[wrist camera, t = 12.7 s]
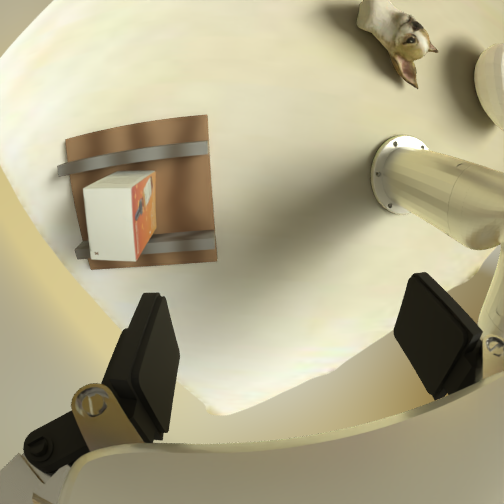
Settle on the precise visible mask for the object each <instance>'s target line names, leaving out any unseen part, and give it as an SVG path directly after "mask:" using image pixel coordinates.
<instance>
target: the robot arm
mask: <svg viewBox="0 0 504 504" xmlns="http://www.w3.org/2000/svg"><path fill="white" fill-rule="evenodd" d="M371 185H372V189H373V192H374V195H375V197H376V199H377V200H378V202H379V203H380V204H381V205H382V206H383V207H384V208H385V209H387V210H388V211H390V212H392V213H395V214H399V215H403V214H409V213H413V214H415V215H416V216H418V217H420V218H421V219H423V220H425V221H426V222H428V223H430V224H431V225H433V226H434V227H436V228H438V229H439V230H441V231H442V232H444V233H445V234H447V235H448V236H450V237H452V238H453V239H455V240H456V241H458V242H459V243H461V244H462V245H464V246H466V247H467V248H470V249H473V250H486V249H490V248H493V247H496V246H498V245H500V244H501V252H500V256H499V260H498V265H497V268H496V271H495V274H494V277H493V280H492V282H491V285H490V288H489V291H488V293H487V296H486V299H485V301H484V304H483V306H482V309H481V312H480V315H479V319H478V325H477V324H476V323H475V322H474V321H473V320H472V318H470V316H469V315H468V314H467V313H466V312H465V311H464V310H463V309H462V308H461V307H460V305H459V304H458V303H457V302H456V301H455V300H454V299H453V298H452V297H451V296H450V295H449V294H448V293H447V292H446V291H445V290H444V289H443V288H442V287H441V286H440V285H439V284H438V283H437V282H436V281H435V280H434V279H433V278H432V277H431V276H430V275H429V274H428V273H426V272H422V273H414V274H413V275H412V276H411V278H409V280H408V283H407V287H406V291H405V294H404V298H403V301H402V305H401V308H400V311H399V315H398V318H397V321H396V324H395V327H394V336H395V338H396V340H397V341H398V343H399V344H400V346H401V348H402V349H403V351H404V353H405V354H406V356H407V357H408V359H409V360H410V362H411V364H412V366H413V367H414V369H415V370H416V373H417V374H418V376H419V378H420V379H421V381H422V383H423V385H424V386H425V388H426V390H427V392H428V393H429V394H431V395H432V396H433V398H434V400H437V399H439V400H437V401H434V402H431V403H429V404H426V405H423V406H421V407H418V408H415V409H412V410H409V411H406V412H403V413H400V414H397V415H394V416H391V417H387V418H384V419H381V420H377V421H374V422H370V423H366V424H362V425H358V426H354V427H350V428H345V429H341V430H336V431H331V432H326V433H320V434H315V435H309V436H302V437H296V438H289V439H281V440H270V441H261V442H260V441H259V442H245V443H226V444H225V443H223V444H184V443H176V444H175V443H153V440H163V433H167V432H168V431H169V424H170V417H171V410H172V403H173V396H174V390H175V384H176V377H177V371H178V365H179V359H180V353H179V348H178V344H177V341H176V337H175V333H174V329H173V326H172V322H171V318H170V314H169V310H168V306H167V301H166V298H165V297H164V296H163V297H161V295H160V293H143V295H142V297H141V299H140V301H139V304H138V306H137V308H136V311H135V313H134V315H133V318H132V320H131V322H130V325H129V327H128V329H124V330H123V331H122V334H121V335H120V338H119V340H118V343H117V345H116V347H115V350H114V352H113V355H112V357H111V360H110V362H109V365H108V368H107V370H106V373H105V375H104V378H103V381H102V383H101V384H98V383H93V384H88V385H85V386H83V387H82V388H80V389H79V390H78V391H77V392H76V393H75V394H74V396H73V398H72V402H71V408H72V411H70V412H68V413H66V414H64V415H62V416H61V417H59V418H57V419H55V420H53V421H51V422H49V423H48V424H46V425H44V426H42V427H40V428H38V429H36V430H34V431H33V432H31V433H30V434H29V435H28V437H27V438H26V439H25V442H24V449H23V450H24V453H23V454H22V455H21V454H19V453H18V454H17V455H16V456H15V457H14V458H13V459H12V460H11V461H10V462H9V463H8V464H7V465H6V466H5V467H4V468H3V469H2V470H1V471H0V504H504V173H503V172H500V171H497V170H494V169H491V168H488V167H485V166H482V165H478V164H475V163H472V162H469V161H466V160H462V159H459V158H456V157H452V156H449V155H445V154H441V153H437V152H433V151H429V149H428V148H427V147H426V145H425V144H424V143H423V142H422V141H420V140H419V139H417V138H415V137H412V136H407V135H399V136H395V137H392V138H390V139H389V140H387V141H386V142H385V143H384V144H383V145H382V146H381V147H380V148H379V150H378V151H377V153H376V155H375V157H374V160H373V163H372V167H371ZM447 393H448V396H446V397H445V395H446V394H447ZM442 397H443V398H442ZM440 398H441V399H440Z"/></svg>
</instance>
